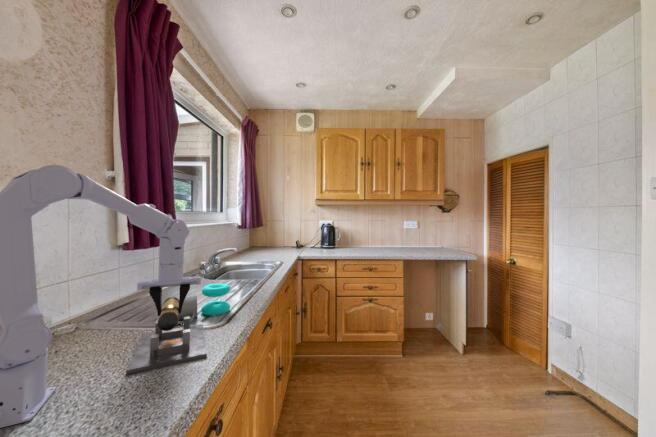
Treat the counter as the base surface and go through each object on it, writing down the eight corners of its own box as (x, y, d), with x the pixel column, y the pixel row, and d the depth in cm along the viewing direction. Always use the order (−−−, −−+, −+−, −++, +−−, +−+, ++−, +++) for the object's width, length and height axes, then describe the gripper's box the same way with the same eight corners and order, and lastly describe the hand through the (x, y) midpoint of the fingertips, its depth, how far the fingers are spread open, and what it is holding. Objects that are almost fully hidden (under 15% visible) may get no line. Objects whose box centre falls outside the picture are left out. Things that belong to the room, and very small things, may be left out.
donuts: (228, 288, 92) (198, 289, 90) (227, 316, 92) (197, 317, 90) (232, 282, 102) (205, 283, 100) (231, 307, 101) (205, 308, 99)
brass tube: (177, 329, 63) (178, 312, 63) (157, 332, 60) (158, 314, 61) (179, 310, 76) (180, 296, 76) (162, 312, 74) (163, 297, 74)
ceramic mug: (170, 317, 90) (171, 295, 90) (196, 313, 94) (197, 292, 94) (169, 328, 81) (170, 304, 81) (198, 323, 85) (199, 300, 85)
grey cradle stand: (206, 357, 63) (207, 335, 63) (125, 375, 55) (126, 349, 55) (202, 327, 81) (203, 310, 81) (141, 337, 74) (142, 318, 74)
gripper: (200, 259, 76) (199, 305, 75) (141, 262, 69) (139, 312, 68) (201, 263, 70) (200, 312, 69) (136, 266, 62) (134, 321, 62)
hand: (169, 313), depth 68 cm, fingers closed on brass tube, 4 cm apart
